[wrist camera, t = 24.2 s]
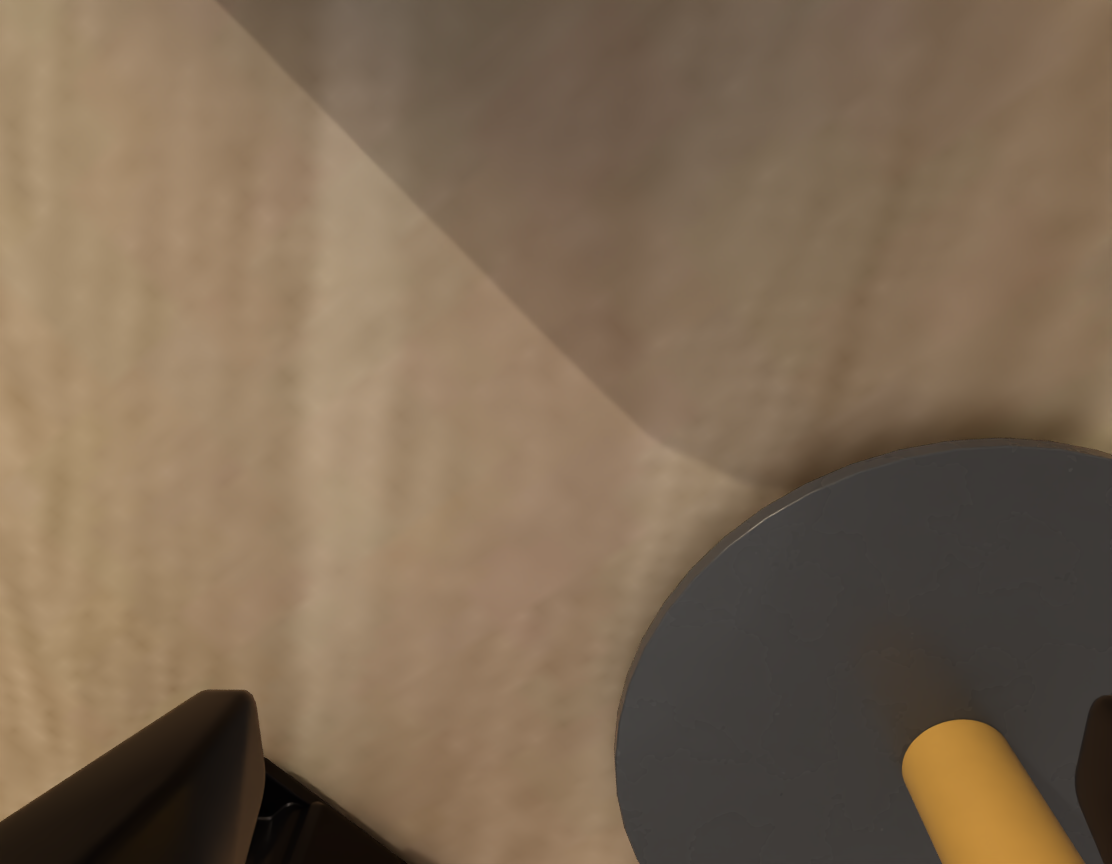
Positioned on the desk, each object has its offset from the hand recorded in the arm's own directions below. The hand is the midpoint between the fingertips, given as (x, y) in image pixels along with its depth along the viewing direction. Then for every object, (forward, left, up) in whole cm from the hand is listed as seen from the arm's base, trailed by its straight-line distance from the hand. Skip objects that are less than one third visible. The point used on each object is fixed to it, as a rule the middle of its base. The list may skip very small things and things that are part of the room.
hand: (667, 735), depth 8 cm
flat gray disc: (-1, -12, -11) cm, 17 cm away
